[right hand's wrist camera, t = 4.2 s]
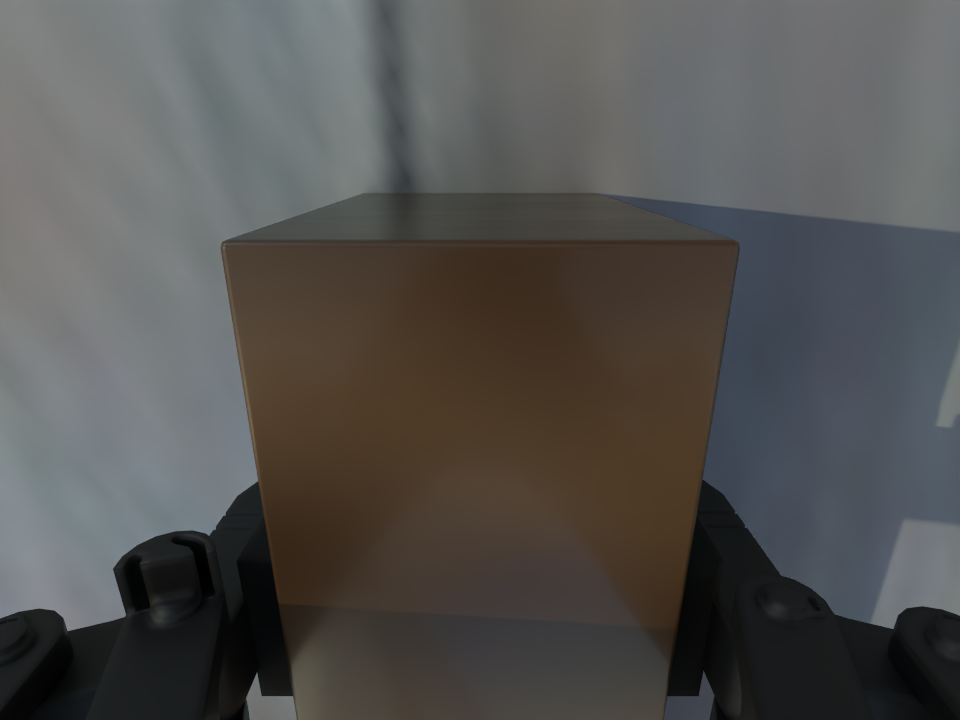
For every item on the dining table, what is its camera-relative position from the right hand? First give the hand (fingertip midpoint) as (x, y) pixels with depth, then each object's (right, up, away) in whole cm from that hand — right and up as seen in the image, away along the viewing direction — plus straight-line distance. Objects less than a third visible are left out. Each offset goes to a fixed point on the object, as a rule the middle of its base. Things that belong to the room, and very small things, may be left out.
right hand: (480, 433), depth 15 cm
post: (0, -25, +10) cm, 27 cm away
